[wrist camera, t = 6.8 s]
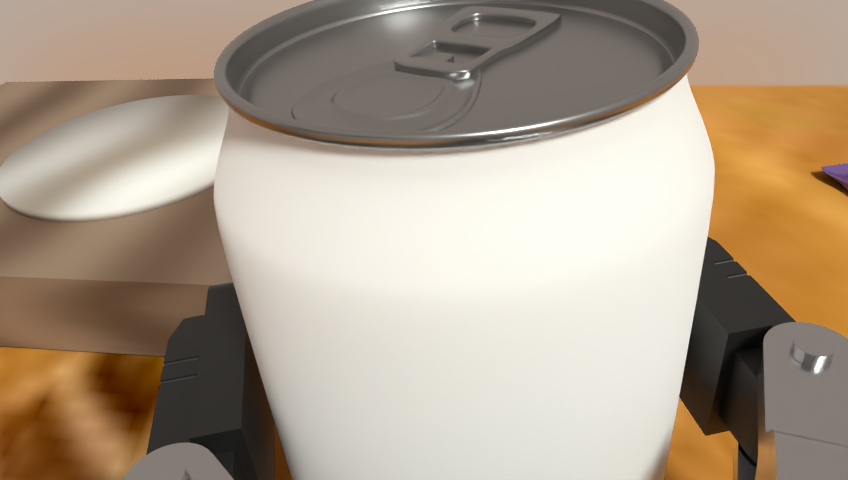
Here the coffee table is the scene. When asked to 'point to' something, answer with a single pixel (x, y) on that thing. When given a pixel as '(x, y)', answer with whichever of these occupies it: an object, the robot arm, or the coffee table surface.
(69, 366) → the coffee table surface
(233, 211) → the can
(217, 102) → the stand
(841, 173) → the snack package
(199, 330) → the robot arm
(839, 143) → the coffee table surface
